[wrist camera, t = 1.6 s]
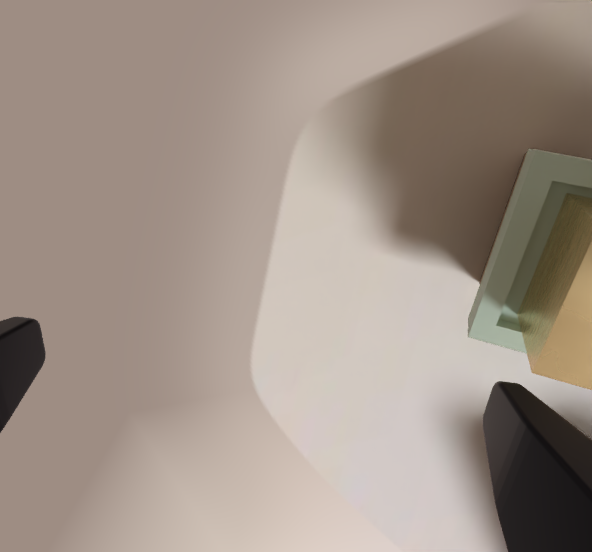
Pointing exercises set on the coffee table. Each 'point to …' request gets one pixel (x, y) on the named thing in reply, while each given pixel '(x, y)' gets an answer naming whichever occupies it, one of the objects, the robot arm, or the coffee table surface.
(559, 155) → the green rimmed tray
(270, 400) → the coffee table surface
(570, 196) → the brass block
